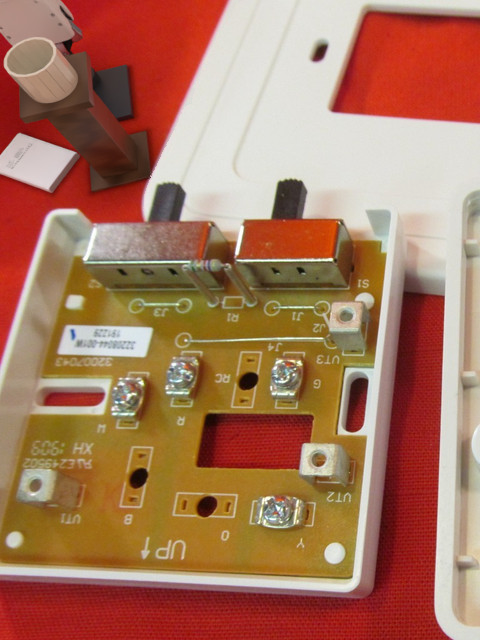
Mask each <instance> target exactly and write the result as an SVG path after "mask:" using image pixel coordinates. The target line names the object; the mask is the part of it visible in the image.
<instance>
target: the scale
mask: <svg viewBox="0 0 480 640" xmlns="http://www.w3.org/2000/svg"><path fill="white" fill-rule="evenodd" d="M91 72H92V86H93V90H94V91H95V93H96V94H97V95H98V96H99V98H100V99H101V100H102V101H103V103H104V104H105V105H106V106H107V108H108V109H109V110H110V112H111V113H112V114H113V115H114V117H115V118H116V119H117V120H118V122H119V123H120V122H123V121H126V120H127V121H128V120H130V119H131V120H132V119H134V118H135V115H134V104H133V103H134V102H133V94H132V84H131V83H132V82H131V73H130V68H129V66H128V64H122V65H118V66H117V65H116V66H114V67H110V68H104V69H101V70H97V71H96V70H95V69H94V68H93V67H92V66H91Z"/></svg>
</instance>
